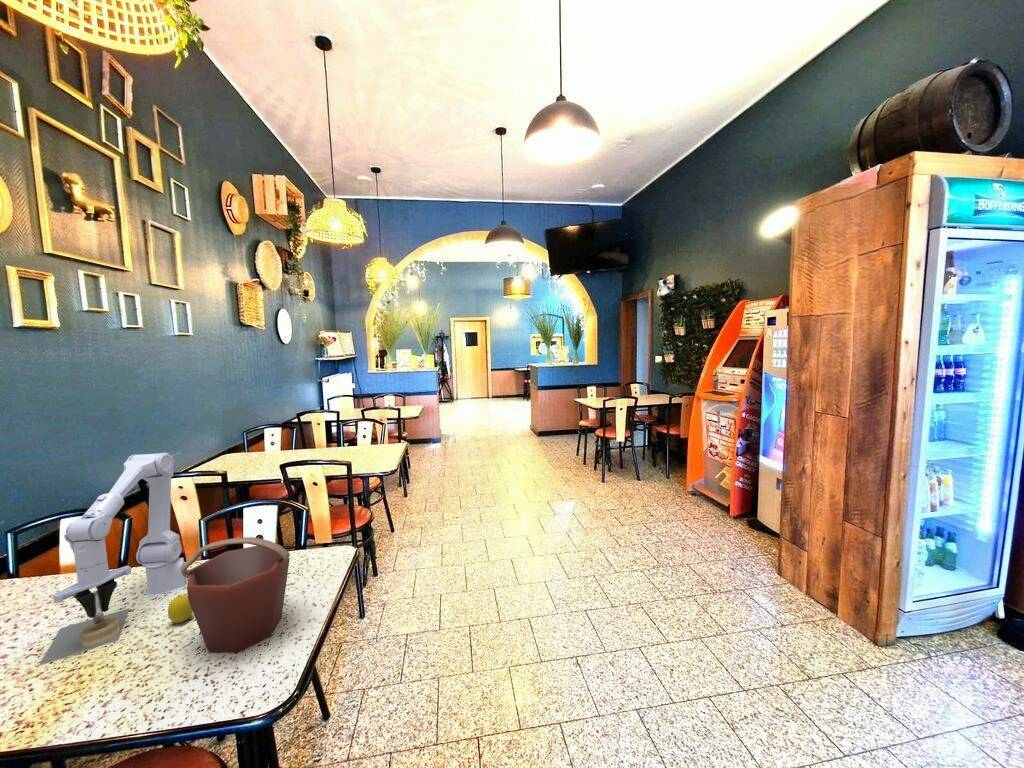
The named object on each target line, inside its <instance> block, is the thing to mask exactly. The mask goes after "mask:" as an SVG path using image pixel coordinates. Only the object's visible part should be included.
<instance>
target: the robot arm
mask: <svg viewBox="0 0 1024 768" xmlns="http://www.w3.org/2000/svg"><path fill="white" fill-rule="evenodd" d="M174 461H175V460H174V457H172V456H171V455H170V454H169V453H168V452H160V453H147V454H145V453H144V454H131V455H130V456H128V457H127V459H126V461H125V462H124V463H123V472H122V473H121V474H120V475H119V477H118V479H117V480H116V482H115V483H114V485H113V486H112V488H111V489H110V490H109V492H108V493H103V494H101V495H99V496H98V497H97V498H96V500H94V502H93V503H92V504H91V506H89V508H88V509H87V510H86V512H85V513H83V515H82V516H81V517H80V518H77V519H74V521H72V522H70V523H69V524H68V526H67V528H66V529H65V534H63V537H64V540H65V541H66V542H67V543H69V546H70V549H71V550H73V556H74V563H75V571H76V578H77V582H76V583H74V584H73V585H70V586H68V587H66V588H64V589H63V590H60V591H58V592H55V593H54V594H52V599H53V603H55V604H60V603H62V602H64V601H65V600H67V599H70V598H72V597H73V598H74V599H75V600H77V602H78V603H79V604H80V605H81V606H82V608H83V609H84V611H85V613H86V615H87V617H88V618H90V619H93V617H95V610H94V594H93V593H92V590H91V589H93V588H95V589H96V591H98V590H100V591H101V598H102V606H103V613H107V611H109V606H110V602H111V598H112V595H113V594H114V591H115V590H116V587H117V585H118V582H117V581H115V580H116V579H118V578H120V577H123V576H129V575H131V574H132V568H131V566H129V565H125V566H122V567H119V568H115V569H112V570H109V565H108V554H107V546H106V537H107V535H108V534H109V533H110V530H111V525H112V523H113V519H114V517H115V516H116V515H117V514H118V512H119V511H120V510H121V509H122V508H123V506H124V505H125V500H124V497H125V496H126V495H127V494H128V493H129V492H130V491H131V490H132V489H133V488H134V487H135V486H136V485H137V484H138V482H139V481H140V480H144V481H145V482H147V483H148V484H149V485H148V487H149V490H148V493H149V494H148V521H147V522H148V524H147V525H148V526H147V527H148V528H147V535H145V536H144V537H143V538H142V539H141V540H139V542H138V544H139V546H138V549H137V552H136V555H135V558H136V562H137V563H138V564H139V565H142V568H145V574H146V583H147V584H146V585H147V591H146V594H145V599H149V598H153V597H156V596H159V595H163V594H166V593H170V592H174V591H177V590H181V589H184V588H185V586H186V581H187V578H186V577H184V576H183V575H182V573H181V566H182V565H183V564H184V563H185V559H184V557H180V555H181V553H182V548H183V547H182V544H181V539H180V534H178V533H176V532H174V531H172V530H171V500H172V497H171V496H172V495H171V494H172V477H174Z"/></svg>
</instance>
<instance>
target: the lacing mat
mask: <svg viewBox="0 0 1024 768" xmlns="http://www.w3.org/2000/svg"><path fill="white" fill-rule="evenodd" d="M129 611H130V607H129V608H126V609H123V610H119V611H118V610H117V611H114V612H112V613H107V614H105V615H104V619H107V618H117V619H119V627H120V631H119V633H118V634H117V635H116V636H115V637H113V638H112V639H110V640H108V641H106V642H104V643H102V644H99V645H95V646H91V647H83V646H82V645H81V641H80V632H81V630H83V629H84V628H85V627H87V626H88V625H90V624H93V618H90V619H87V620H84V621H81V622H78V623H74V624H70V625H67V626H64V627H60V628H59V629H58V632H57V633H56V635H55V637H54V638H53V640H52V642H51V643H50V646H49V647H48V649H47V651H46V653H45V654H44V655H43V657H42V660H41V661H40V662H39V664H38V666H42V665H45V664H49V663H51V662H55V661H58V660H61V659H64V658H67V657H70V656H74V655H76V654H80V653H83V652H85V651H90V650H93V649H95V648H99V647H101V646H104V645H107V644H111V643H114V642H117V641H119V640H120V637H121V634H122V631H123V629H124V625H125V622H126V620H127V617H128V614H129Z"/></svg>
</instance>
